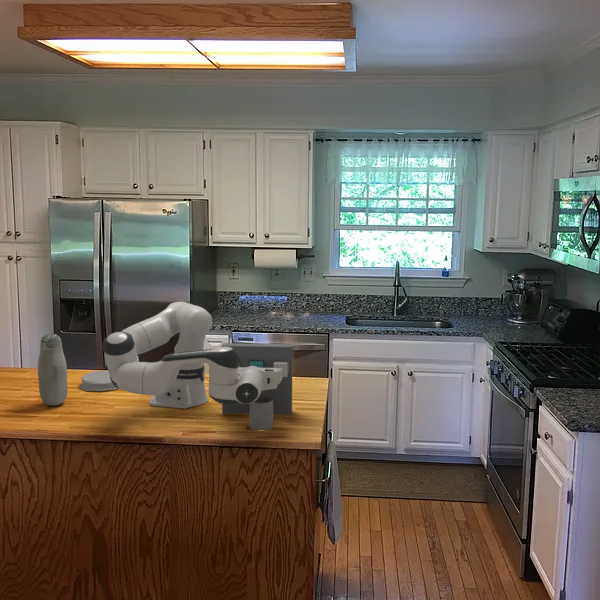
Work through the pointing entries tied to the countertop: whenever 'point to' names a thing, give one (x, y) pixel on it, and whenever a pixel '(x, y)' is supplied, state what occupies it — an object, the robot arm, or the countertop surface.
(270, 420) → the cup
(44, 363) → the grey bottle
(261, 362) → the teal push-block
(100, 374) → the food container
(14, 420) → the countertop surface
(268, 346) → the button panel
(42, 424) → the countertop surface
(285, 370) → the light grey push-block
